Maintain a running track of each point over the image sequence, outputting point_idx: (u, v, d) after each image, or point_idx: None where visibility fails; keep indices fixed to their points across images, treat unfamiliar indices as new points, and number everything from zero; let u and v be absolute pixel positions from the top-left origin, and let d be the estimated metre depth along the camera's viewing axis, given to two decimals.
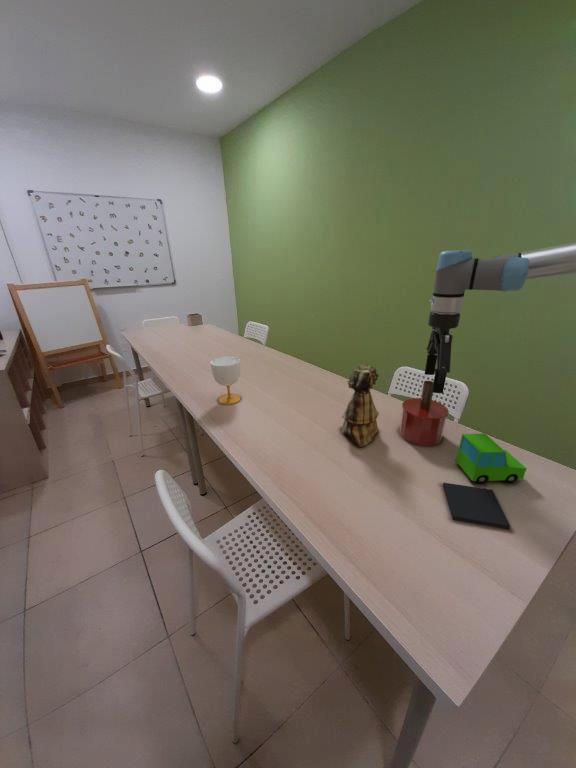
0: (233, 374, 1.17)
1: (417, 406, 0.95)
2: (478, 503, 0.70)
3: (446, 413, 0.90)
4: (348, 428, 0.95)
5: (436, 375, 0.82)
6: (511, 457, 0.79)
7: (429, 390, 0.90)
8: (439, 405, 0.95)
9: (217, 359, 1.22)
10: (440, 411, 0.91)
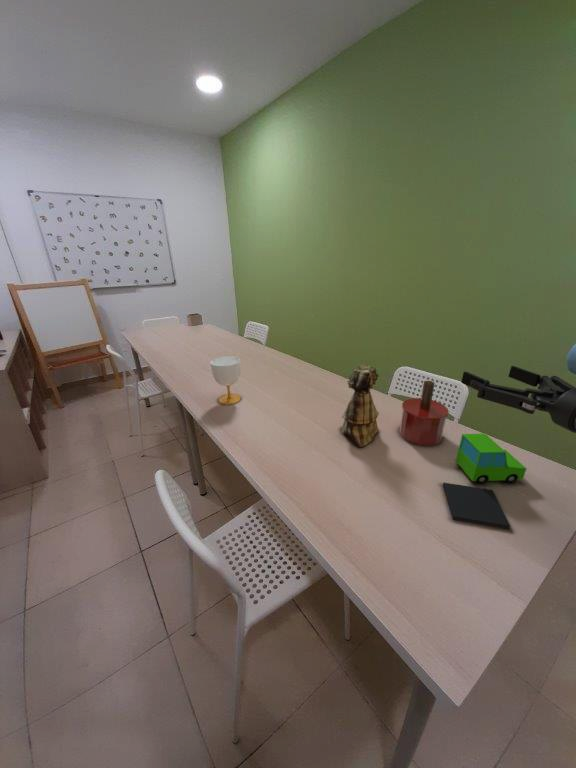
0: (233, 374, 1.17)
1: (417, 406, 0.95)
2: (478, 503, 0.70)
3: (446, 413, 0.90)
4: (348, 428, 0.95)
5: None
6: (511, 457, 0.79)
7: (429, 390, 0.90)
8: (439, 405, 0.95)
9: (217, 359, 1.22)
10: (440, 411, 0.91)
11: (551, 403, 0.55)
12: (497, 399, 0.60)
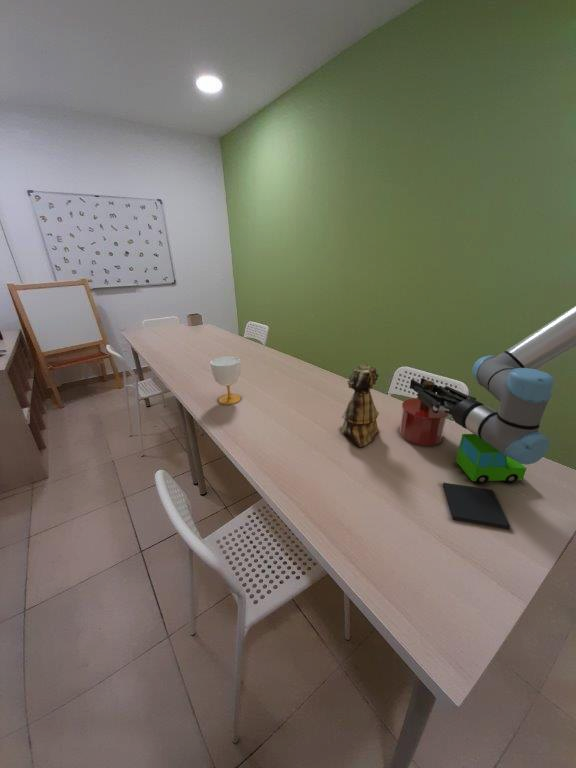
0: (233, 374, 1.17)
1: (417, 406, 0.95)
2: (478, 503, 0.70)
3: (446, 413, 0.90)
4: (348, 428, 0.95)
5: None
6: None
7: (429, 390, 0.90)
8: None
9: (217, 359, 1.22)
10: (440, 411, 0.91)
11: (452, 409, 0.78)
12: (424, 400, 0.86)
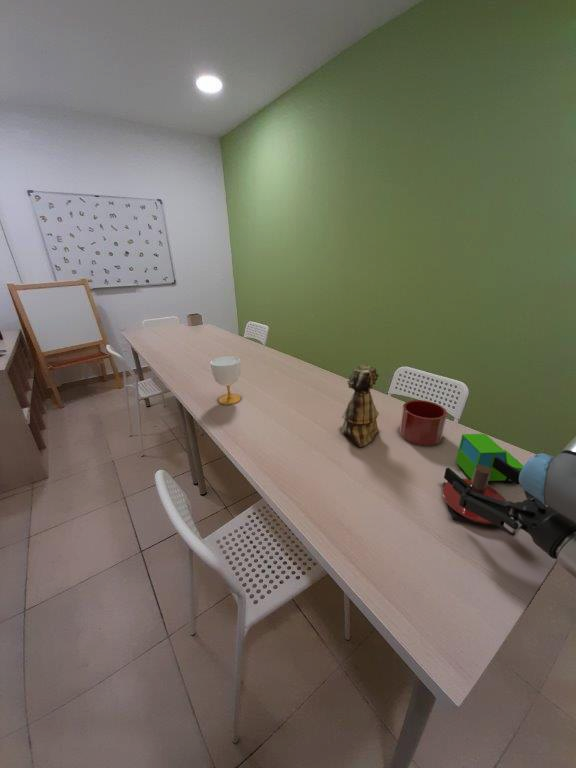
0: (233, 374, 1.17)
1: None
2: None
3: None
4: (348, 428, 0.95)
5: None
6: (511, 457, 0.79)
7: (483, 480, 0.66)
8: (493, 494, 0.70)
9: (217, 359, 1.22)
10: None
11: (532, 526, 0.53)
12: (478, 512, 0.58)
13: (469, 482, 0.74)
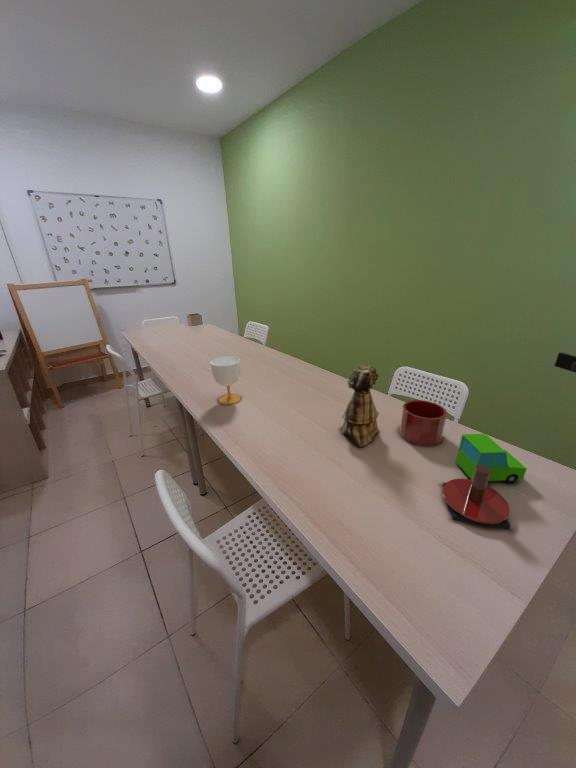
0: (233, 374, 1.17)
1: (464, 495, 0.70)
2: None
3: (507, 511, 0.66)
4: (348, 428, 0.95)
5: None
6: (511, 457, 0.79)
7: (483, 480, 0.66)
8: (493, 494, 0.70)
9: (217, 359, 1.22)
10: (498, 507, 0.67)
11: None
12: None
13: (469, 482, 0.74)
